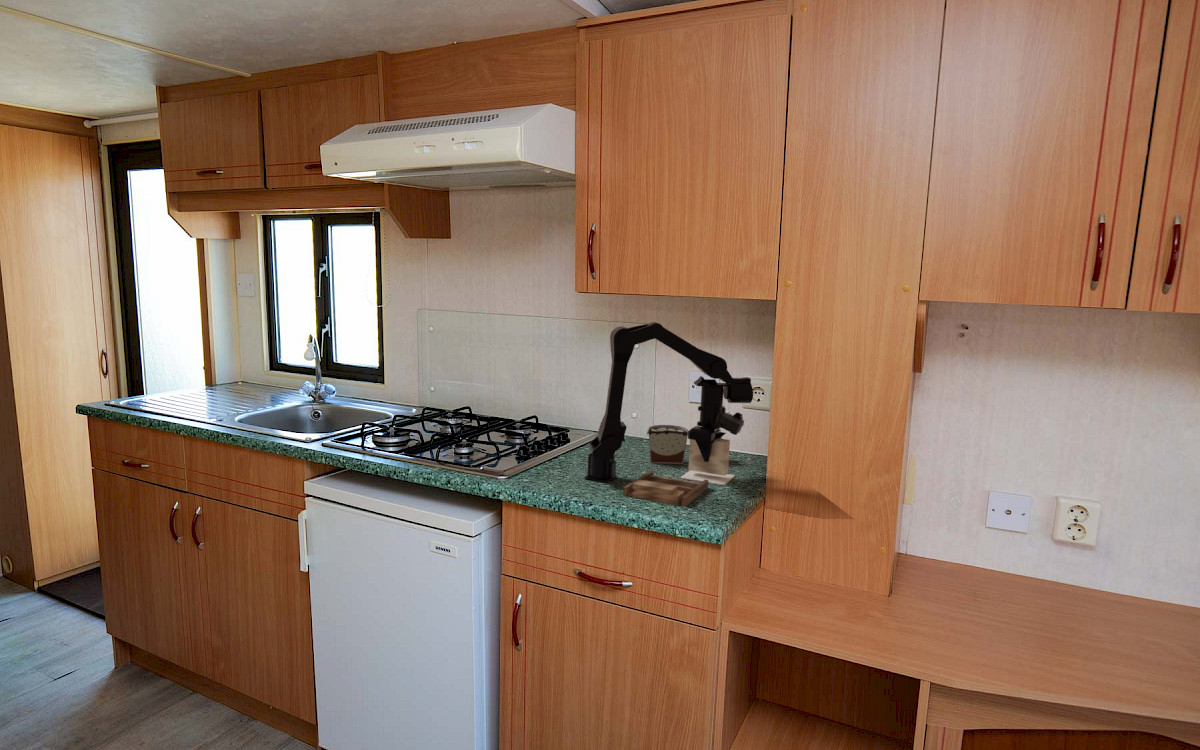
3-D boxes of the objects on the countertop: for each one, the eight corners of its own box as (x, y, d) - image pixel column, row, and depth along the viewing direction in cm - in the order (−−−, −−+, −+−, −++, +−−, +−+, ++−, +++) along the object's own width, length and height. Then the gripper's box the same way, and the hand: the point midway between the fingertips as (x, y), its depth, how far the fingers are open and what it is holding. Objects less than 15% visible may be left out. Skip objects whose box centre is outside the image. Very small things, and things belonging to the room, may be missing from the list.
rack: (622, 495, 172) (623, 487, 172) (649, 478, 187) (650, 470, 187) (685, 506, 165) (685, 498, 165) (708, 487, 180) (708, 480, 180)
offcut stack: (627, 497, 172) (628, 483, 171) (635, 492, 176) (636, 478, 176) (678, 506, 166) (679, 492, 166) (685, 501, 171) (686, 486, 170)
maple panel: (688, 469, 190) (690, 437, 189) (692, 467, 193) (693, 434, 192) (724, 475, 186) (726, 442, 185) (727, 473, 189) (729, 439, 187)
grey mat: (680, 478, 188) (680, 477, 188) (692, 469, 197) (692, 468, 197) (724, 485, 183) (724, 484, 183) (734, 476, 191) (735, 475, 191)
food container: (685, 458, 209) (686, 424, 207) (688, 463, 203) (690, 429, 201) (643, 457, 208) (644, 423, 207) (645, 462, 202) (646, 428, 201)
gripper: (731, 412, 175) (727, 473, 177) (751, 400, 191) (747, 457, 194) (688, 406, 180) (685, 466, 182) (711, 396, 196) (708, 451, 199)
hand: (708, 460), depth 189 cm, fingers closed on maple panel, 3 cm apart
